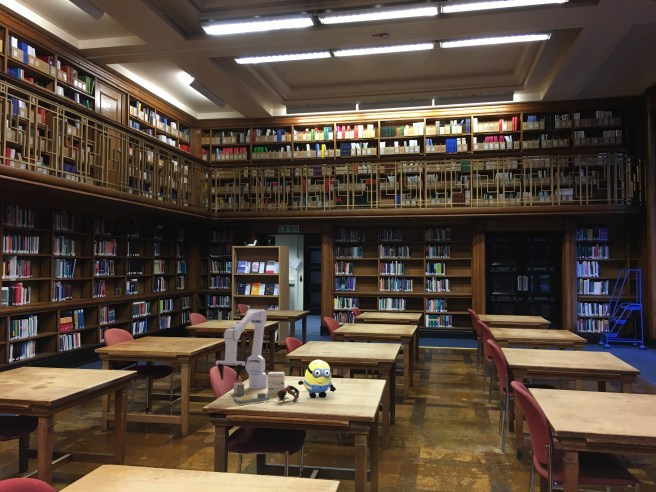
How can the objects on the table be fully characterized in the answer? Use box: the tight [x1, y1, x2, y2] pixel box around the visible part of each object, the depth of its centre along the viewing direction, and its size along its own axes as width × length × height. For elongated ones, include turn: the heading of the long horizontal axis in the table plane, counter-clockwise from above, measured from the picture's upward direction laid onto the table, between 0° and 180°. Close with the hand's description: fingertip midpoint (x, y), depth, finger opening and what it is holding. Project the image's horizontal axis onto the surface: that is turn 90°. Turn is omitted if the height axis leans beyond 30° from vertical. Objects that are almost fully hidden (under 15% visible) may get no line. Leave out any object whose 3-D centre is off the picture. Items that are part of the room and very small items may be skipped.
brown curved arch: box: [277, 384, 300, 403], centre depth 253 cm, size 12×10×8 cm
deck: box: [229, 391, 249, 398], centre depth 261 cm, size 8×8×1 cm
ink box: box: [266, 371, 286, 395], centre depth 265 cm, size 9×5×12 cm, turn 84°
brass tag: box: [242, 394, 252, 400], centre depth 247 cm, size 4×1×2 cm, turn 117°
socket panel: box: [233, 393, 271, 407], centre depth 251 cm, size 16×8×2 cm, turn 117°
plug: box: [233, 381, 245, 397], centre depth 261 cm, size 4×5×6 cm
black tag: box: [257, 392, 266, 398], centre depth 250 cm, size 4×1×2 cm, turn 117°
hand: (229, 379), depth 253 cm, fingers open, 7 cm apart
